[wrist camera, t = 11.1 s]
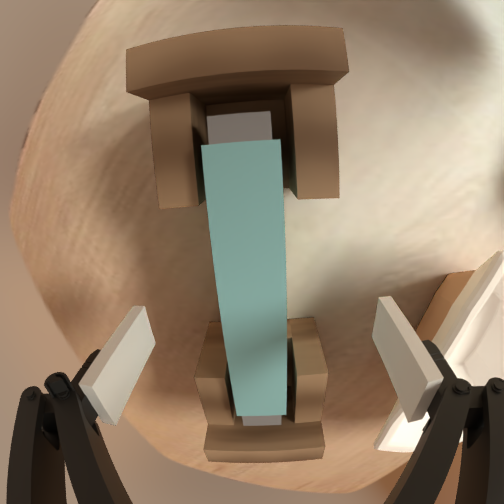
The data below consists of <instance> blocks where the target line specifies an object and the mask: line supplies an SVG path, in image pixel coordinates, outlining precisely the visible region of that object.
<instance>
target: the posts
mask: <svg viewBox="0 0 504 504" xmlns="http://www.w3.org/2000/svg"><path fill="white" fill-rule="evenodd" d="M348 72H349V67H348V60H347V52H346V46H345V39H344V33H343V28H335V27H321V26H296V25H279V26H253V27H240V28H230V29H221V30H213V31H206V32H200V33H194V34H188V35H183V36H178V37H173V38H168V39H164V40H160V41H156V42H152V43H148V44H144V45H140V46H137V47H133V48H130V49H127V50H126V92H128V93H131V94H133V95H136V96H139V97H141V98H144V99H147V100H149V108H150V124H151V138H152V149H153V160H154V169H155V178H156V187H157V195H158V203H159V209H168V208H178V207H189V206H199V205H200V204H201V203H202V202H203V201H205V200H206V192H205V182H204V171H203V160H202V148H201V146H202V145H209V139H208V126H207V116H216V115H225V114H236V113H249V112H265V111H270V113H271V127H272V140H279V139H280V142H281V159H282V177H283V188H290V190H291V191H292V192H293V194H294V195H295V197H296V198H297V199H323V198H339V155H338V134H337V118H336V105H335V94H334V84H335V83H336V82H338V81H339V80H340V79H341V78H342V77H343V76H345V75H346V74H347V73H348ZM194 379H195V382H196V386H197V389H198V393H199V396H200V400H201V403H202V406H203V410H204V413H205V416H206V419H207V422H208V427H207V433H206V438H205V444H204V452H205V454H206V457H207V459H208V461H212V462H231V463H271V462H290V461H303V460H313V459H322V457H323V453H324V449H325V442H324V436H323V430H322V424H321V418H322V412H323V406H324V400H325V393H326V386H327V379H328V369H327V366H326V362H325V358H324V354H323V350H322V346H321V343H320V339H319V335H318V331H317V328H316V324H315V320H314V317H312V318H298V319H287V402H286V415H281V425H264V426H243V420H242V416H237V414H236V408H235V403H234V397H233V391H232V385H231V380H230V374H229V368H228V361H227V355H226V349H225V342H224V336H223V329H222V323H221V322H210V323H209V326H208V330H207V333H206V337H205V340H204V344H203V347H202V351H201V354H200V358H199V362H198V365H197V369H196V372H195V376H194Z"/></svg>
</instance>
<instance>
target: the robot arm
mask: <svg viewBox="0 0 504 504" xmlns="http://www.w3.org/2000/svg"><path fill="white" fill-rule="evenodd" d="M372 339H373V341H374V343H375V345H376V347H377V350H378V352H379V354H380V356H381V359H382V361H383V363H384V365H385V368H386V370H387V372H388V375H389V377H390V379H391V382H392V384H393V386H394V389H395V391H396V394H397V396H398V399H399V401H400V404H401V406H402V409H403V411H404V414H405V416H406V419H407V422H408V423H410V422H414V421H418V420H421V419H423V417H424V416H425V414H426V412H428V415H429V417H430V418H429V420H428V421H427V423H426V425H425V426H424V428H423V429H422V431H423V433H422V435H421V437H420V439H419V442H418V444H417V446H416V448H415V450H414V452H413V454H412V456H411V458H410V460H409V462H408V464H407V465H406V467H405V469H404V471H403V473H402V474H401V476H400V478H399V480H398V482H397V483H396V485H395V487H394V488H393V490H392V491H391V493H390V495H389V496H388V498H387V499H386V501H385V502H384V504H434V503H435V500H436V498H437V496H438V494H439V492H440V490H441V488H442V485H443V483H444V481H445V479H446V476H447V474H448V472H449V469H450V466H451V464H452V461H453V459H454V456H455V453H456V450H457V447H458V444H459V441H460V438H461V435H462V432H463V445H462V458H461V467H460V476H459V483H458V489H457V495H456V501H455V504H504V380H503V379H501V378H497V377H494V378H491V379H489V380H488V382H487V383H486V385H485V386H471V384H470V383H469V382H468V381H466V380H464V379H461V378H457V377H456V375H455V373H454V372H453V370H452V369H451V367H450V366H449V364H448V362H447V361H446V359H444V356H443V355H442V353H441V352H440V350H439V349H438V347H437V346H436V345H435V344H434V343H433V342H431V341H430V340H424V341H421V340H420V338H419V337H418V335H417V334H416V332H415V331H414V329H413V328H412V326H411V325H410V323H409V322H408V320H407V319H406V317H405V316H404V314H403V313H402V311H401V310H400V308H399V307H398V306H397V304H396V303H395V301H394V300H393V298H392V297H391V296H386V297H379V298H378V304H377V310H376V316H375V322H374V327H373V332H372ZM155 344H156V343H155V339H154V336H153V333H152V330H151V326H150V323H149V320H148V316H147V313H146V309H145V306H133V307H132V308H131V309H130V311H129V312H128V313H127V315H126V316H125V317H124V319H123V320H122V322H121V323H120V324H119V326H118V327H117V328H116V330H115V331H114V333H113V334H112V335H111V337H110V338H109V340H108V341H107V342H106V344H105V345H104V347H103V348H102V350H98V349H97V350H96V351H94V352H93V353H92V354H90V356H89V357H88V358H87V360H86V361H85V363H84V364H83V365H82V368H80V370H79V371H78V373H77V374H76V376H75V377H74V379H73V380H72V381H71V382H70V380H69V378H68V377H67V375H66V374H64V373H62V372H57V373H54V374H51V375H50V376H49V377H48V378H47V379H46V380H45V383H44V386H45V388H46V389H47V391H48V392H49V394H43V393H42V392H41V390H40V389H39V388H38V387H36V386H32V387H28V388H27V389H25V390H24V391H23V393H22V395H21V398H20V402H19V406H18V411H17V415H16V420H15V425H14V431H13V437H12V443H11V450H10V458H9V467H8V479H7V504H67V502H66V488H65V463H66V467H67V470H68V473H69V477H70V480H71V483H72V487H73V489H74V493H75V495H76V498H77V501H78V504H133V503H132V502H131V500H130V498H129V496H128V494H127V492H126V490H125V488H124V486H123V484H122V482H121V480H120V478H119V476H118V473H117V471H116V469H115V467H114V464H113V462H112V460H111V458H110V455H109V453H108V450H107V448H106V445H105V443H104V440H103V437H102V435H101V432H100V429H99V426H98V424H97V423H96V421H95V420H96V418H97V416H99V417H100V419H101V420H102V422H103V423H107V424H111V425H115V426H116V424H117V422H118V420H119V418H120V416H121V414H122V412H123V409H124V407H125V405H126V403H127V401H128V399H129V397H130V395H131V392H132V390H133V388H134V386H135V384H136V382H137V380H138V378H139V376H140V374H141V372H142V370H143V368H144V366H145V364H146V362H147V360H148V358H149V356H150V354H151V352H152V350H153V348H154V346H155Z"/></svg>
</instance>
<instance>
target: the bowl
mask: <svg viewBox="0 0 504 504" xmlns="http://www.w3.org/2000/svg"><path fill="white" fill-rule="evenodd" d="M415 332H416V334H417V335H418V337H419V338H420V340H421V341H424V340H430V341H431V342H433V343H434V344H435V345H436V346H437V347H438V349H439V350H440V352H441V353H442V355H443V356H444V359H446V361H447V362H448V364H449V366H450V367H451V369H452V370H453V372H454V373H455V375H456V377H457V378H461V379H464V380H466V381H468V382H469V383H470V384H471V386H485V385H486V383H487V382H488V380H489V379H491V378H494V377H497V378H501V379H503V380H504V250H500V251H497V252H496V253H495V254H494V255H493V256H492V257H491V258H490V259H488V260H487V261H486V262H485V263H484V264H483V265H481V266H480V267H479V268H478V269H477V270H472V271H465V272H457V273H450V274H448V275H447V277H446V278H445V280H444V281H443V283H442V284H441V286H440V287H439V288H438V290H437V291H436V293H435V295H434V297H433V299H432V301H431V303H430V305H429V307H428V309H427V310H426V312H425V314H424V316H423V318H422V320H421V322H420V324H419V325H418V327H417V329H416V331H415ZM429 418H430V417H429V415H428V412H426V414H425V416H424V417H423V419H421V420H418V421H414V422H410V423H408V422H407V419H406V416H405V414H404V411H403V409H402V406H401V404H400V401H399V399H398V397H397V401H396V403H395V405H394V407H393V409H392V411H391V413H390V415H389V417H388V418H387V420H386V422H385V424H384V426H383V428H382V429H381V431H380V433H379V435H378V436H377V438H376V440H375V442H374V449H377V450H383V451H393V452H414V450H415V448H416V446H417V444H418V442H419V439H420V437H421V435H422V433H423V431H422V429H423V428H424V426H425V425H426V423H427V421H428V420H429ZM460 442H463V432H462V435H461V438H460V441H459V443H460Z"/></svg>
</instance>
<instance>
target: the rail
mask: <svg viewBox="0 0 504 504" xmlns="http://www.w3.org/2000/svg"><path fill="white" fill-rule="evenodd" d="M207 126H208V139H209V145H202V146H201V148H202V160H203V171H204V182H205V192H206V202H207V212H208V221H209V230H210V239H211V247H212V256H213V264H214V272H215V279H216V287H217V294H218V302H219V309H220V316H221V323H222V329H223V336H224V342H225V349H226V355H227V361H228V368H229V374H230V380H231V385H232V391H233V397H234V403H235V408H236V414H237V416H242V420H243V426H264V425H281V415H286V402H287V292H286V250H285V221H284V197H283V177H282V159H281V142H280V139H279V140H272V127H271V113H270V111H265V112H249V113H236V114H225V115H216V116H207Z"/></svg>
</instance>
